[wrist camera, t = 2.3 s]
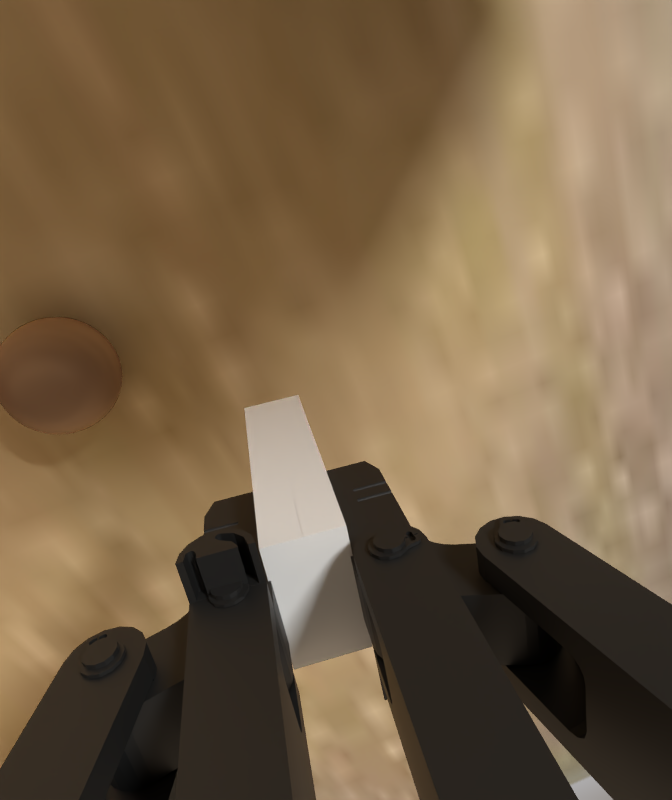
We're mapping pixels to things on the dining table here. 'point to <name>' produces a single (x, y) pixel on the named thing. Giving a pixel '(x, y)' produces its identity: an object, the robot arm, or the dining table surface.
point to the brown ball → (58, 375)
